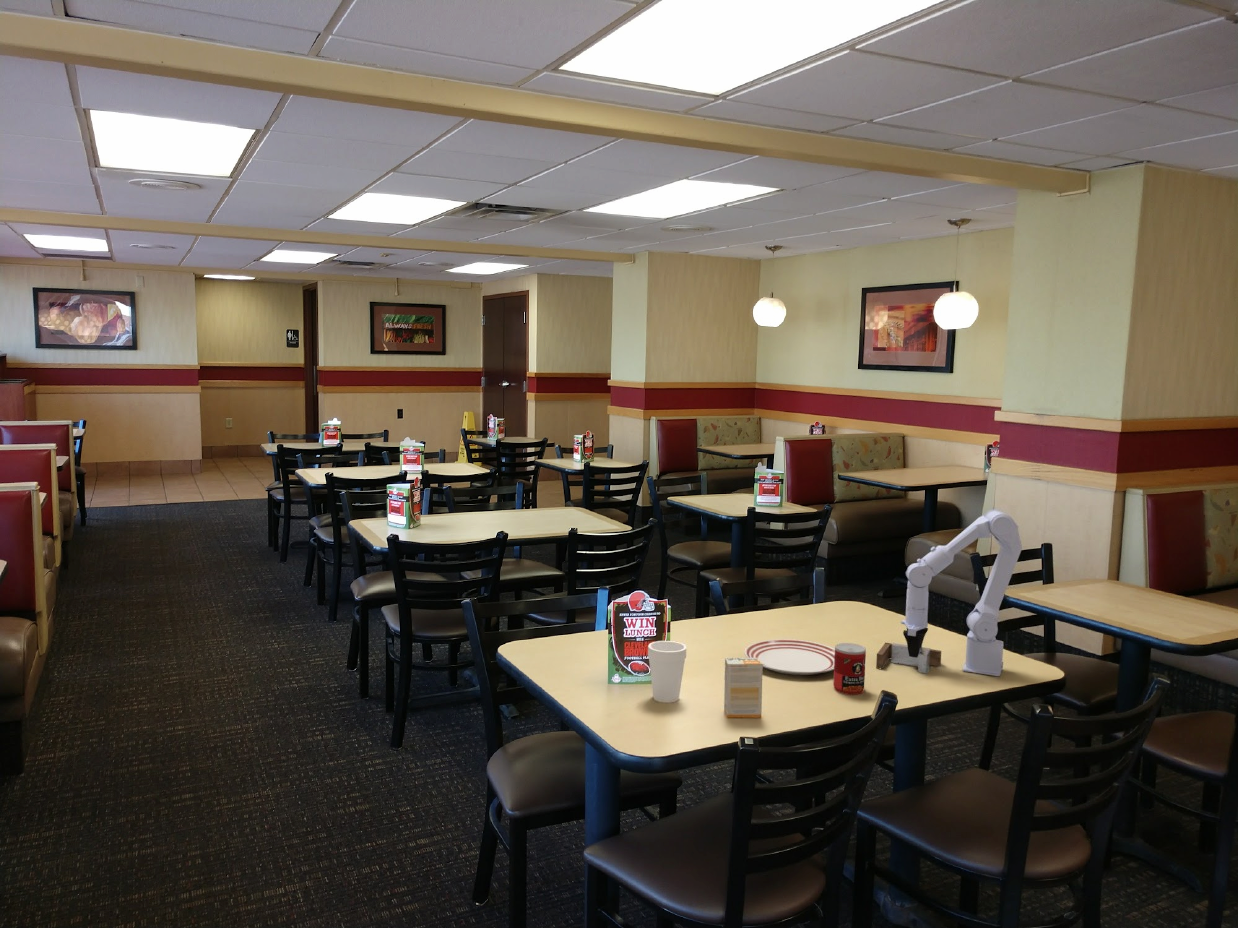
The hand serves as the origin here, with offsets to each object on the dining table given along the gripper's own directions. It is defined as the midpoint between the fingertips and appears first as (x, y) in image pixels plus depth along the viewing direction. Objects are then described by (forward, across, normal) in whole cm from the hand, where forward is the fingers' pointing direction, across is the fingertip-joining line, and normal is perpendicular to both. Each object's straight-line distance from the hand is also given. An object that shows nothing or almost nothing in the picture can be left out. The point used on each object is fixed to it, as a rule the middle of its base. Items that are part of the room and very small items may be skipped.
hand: (914, 654), depth 248 cm
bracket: (+3, +2, -1) cm, 4 cm away
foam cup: (+3, +58, -50) cm, 76 cm away
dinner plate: (+3, +16, -30) cm, 34 cm away
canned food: (+3, +29, -12) cm, 31 cm away
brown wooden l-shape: (+3, +2, -1) cm, 4 cm away
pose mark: (+3, +3, 0) cm, 4 cm away
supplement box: (+3, +59, -30) cm, 66 cm away
